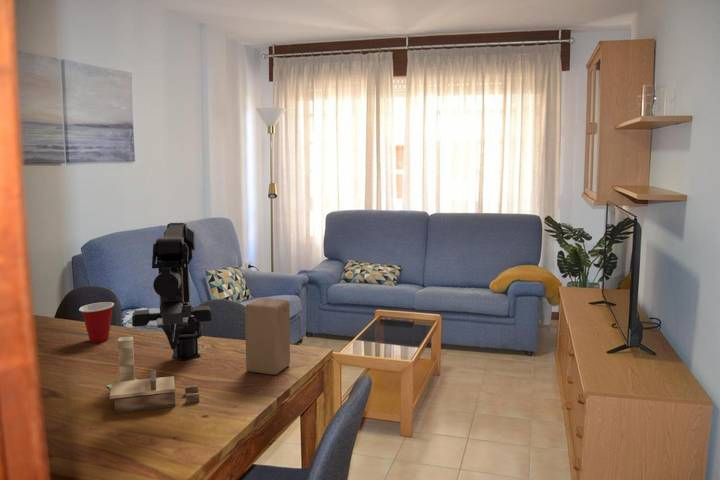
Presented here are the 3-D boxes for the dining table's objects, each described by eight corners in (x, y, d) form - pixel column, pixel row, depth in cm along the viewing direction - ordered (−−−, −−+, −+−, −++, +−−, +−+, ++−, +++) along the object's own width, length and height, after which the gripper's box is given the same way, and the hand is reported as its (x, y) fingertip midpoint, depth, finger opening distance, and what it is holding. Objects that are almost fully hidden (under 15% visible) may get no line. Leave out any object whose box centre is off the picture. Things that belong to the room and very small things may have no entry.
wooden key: (135, 382, 166) (132, 336, 164) (134, 387, 163) (132, 340, 161) (121, 384, 165) (118, 337, 163) (120, 388, 162) (118, 341, 160)
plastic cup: (84, 336, 208) (82, 302, 207) (117, 334, 211) (116, 300, 209) (77, 346, 198) (75, 310, 196) (113, 343, 200) (111, 308, 199)
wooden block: (291, 365, 182) (290, 299, 179) (276, 376, 173) (275, 307, 170) (261, 361, 185) (260, 296, 182) (244, 372, 176) (243, 304, 173)
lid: (174, 379, 160) (173, 367, 159) (174, 391, 151) (174, 379, 151) (112, 385, 155) (111, 373, 155) (109, 398, 147) (109, 386, 146)
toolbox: (197, 390, 162) (197, 377, 161) (199, 403, 154) (199, 390, 153) (117, 399, 156) (116, 386, 155) (114, 413, 147) (114, 399, 147)
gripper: (129, 297, 142) (132, 362, 144) (212, 292, 147) (214, 355, 149) (131, 288, 152) (134, 348, 154) (208, 283, 158) (210, 342, 160)
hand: (173, 349), depth 154 cm, fingers closed
